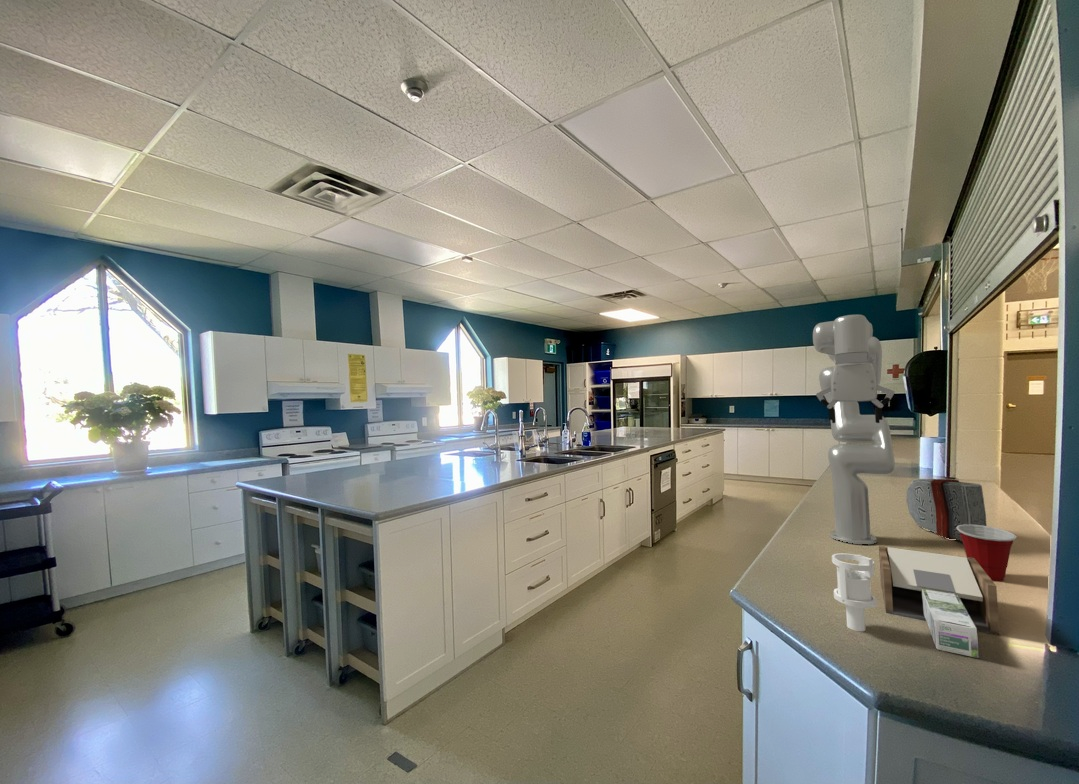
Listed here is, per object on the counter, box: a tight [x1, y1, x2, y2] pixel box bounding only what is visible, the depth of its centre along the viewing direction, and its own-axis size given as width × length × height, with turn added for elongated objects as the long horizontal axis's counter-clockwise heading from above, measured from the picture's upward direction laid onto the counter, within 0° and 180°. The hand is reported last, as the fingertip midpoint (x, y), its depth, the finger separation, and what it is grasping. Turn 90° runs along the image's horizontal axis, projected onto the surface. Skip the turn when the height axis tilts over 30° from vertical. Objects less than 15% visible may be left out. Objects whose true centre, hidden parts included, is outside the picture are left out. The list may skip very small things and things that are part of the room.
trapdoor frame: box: [878, 545, 1000, 636], centre depth 96 cm, size 18×17×10 cm
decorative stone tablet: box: [906, 478, 988, 542], centre depth 144 cm, size 19×6×30 cm
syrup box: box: [922, 589, 979, 659], centre depth 83 cm, size 6×6×14 cm
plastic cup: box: [956, 525, 1017, 582], centre depth 110 cm, size 11×11×12 cm
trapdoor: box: [886, 546, 983, 602], centre depth 96 cm, size 14×14×1 cm
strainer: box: [831, 552, 878, 633], centre depth 88 cm, size 7×7×15 cm
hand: (855, 422), depth 117 cm, fingers open, 9 cm apart
